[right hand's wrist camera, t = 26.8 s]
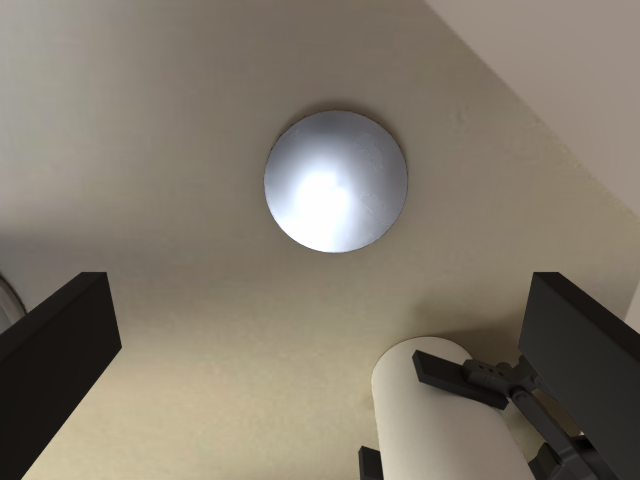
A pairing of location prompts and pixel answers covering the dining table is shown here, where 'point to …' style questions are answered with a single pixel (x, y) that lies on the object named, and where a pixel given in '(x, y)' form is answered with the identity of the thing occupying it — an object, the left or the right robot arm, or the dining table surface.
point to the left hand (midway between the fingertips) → (387, 416)
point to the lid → (335, 181)
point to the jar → (438, 423)
